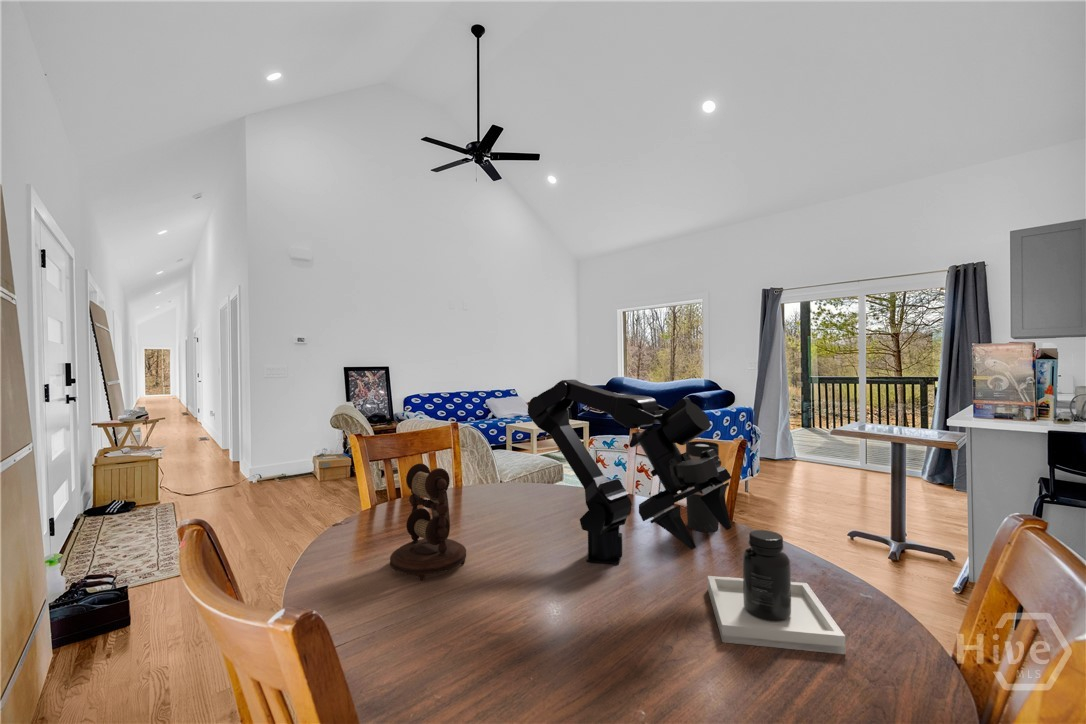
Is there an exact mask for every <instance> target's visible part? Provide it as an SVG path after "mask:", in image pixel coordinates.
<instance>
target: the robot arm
mask: <svg viewBox="0 0 1086 724" xmlns="http://www.w3.org/2000/svg"><path fill="white" fill-rule="evenodd" d="M573 403H578V404H581V405H582V406H587V407H589V408H592V409H595V410H598V411H601V412H603V413H606V414H608V415H609V416H611V418H612V419H613V420H614V421H615V422H616V423H619V424H620V425H622V426H624V427H625V428H628V429H638V428H645V427H647V428H645V429H644V430H642V431H641V432H640V431H635V432H632V433H631V438H630V442H629V445H628V446H629V447H630V448H636V447H639V446H640V447H641V449H642V450H643V453H644V454H645V456H646V458H647V459H648V461H649V462H650V464H651V466H652V468H653V469H652V470H651V471H650V474H651V476H652V477H655V476H657V477H658V479H659V481H660V483H661V484H662V486H663V488H664V490H662V491H660V492H658V493H656V494H654V495H652V496H649V498H647V499H645V500H644V501H642V502H640V503H639V504H638V514H639V515H640V518H641V519H642V522H646V521H647V520H649V519H651V520H649V522H650V524H657V526H659V527H661V528H662V529H664V530H665V531H667V532H668V533H670V534H671V535H672V536H674V537H675V538H676V539H677V540H679V542H681V543H682V544H683V545H685V547H687V548H688V549H689V550H691V551H692V550H695V549H696V548H697V547H696V544H695V542H694V538H693V537H692V535H691V533H690V531H689V530H688V527H687V526H686V524H685V523H684V520H683V519H682V515H681V506H680V505H679V504H678V505H677V506H675V504H676V503H677V502H679V501H682V500H684V499H686V497H688V496H691V495H693V494H695V493H697V492H699V493H701V494H704V495H703V496H702V497H700V499H701V500H702V501H703V502H704V504H705V505H706V506H707V507H708V509H709V510H710V511H711V513H712V514H713V515H714V516H715V518H716V519H717V520H718V521H719V524H720V525H721V526H722V527H723V528H724V530H726V531H728V530H731V529H732V524H731V520H730V516H729V511H728V508H727V503H726V493H727V488H728V486H730V482H729V481H730V480H731V479H732V476H731V473H730V472H729V470H728V469H727V468H725V467H723V466H721V465H722V460H721V458H720V455H719V456H718V455H717V454H716V452H715V451H714V450H713V449H711V450H706V451H704V452H701V457H699V458H697V459H691V458H690V456H689V455H688V454H687V453H686V451H685V452H683V453H682V452H681V450H680V449H679V447H678V446H677V444H678V445H680V446H686V444H687V443H688V442H692V441H694V439H696V438H698V437H699V436H701V435H702V434H704V433H705V432H707V431H708V430H710V427H711V422H710V419H709V417H708V415H707V413H706V412H705V411H704V410H703V409H702V408H700V407H699V406H698V405H697V404H695V403H693V402H692V401H691V399H690V398H689V397H683V398H681V399H679V400H678V401H677V402H676V403H675V404H674V405H673V406H672V407H670V408H666V407H665V406H662V405H660V404H658V403H657V400H656V399H655V398H653V397H652V396H646V395H637V394H636V395H635V394H634V395H633V394H619V393H616V392H613V391H610V390H606V389H602V388H599V387H597V386H593V385H590V384H588V383H587V384H586V383H584V382H581V381H579V380H578V379H562V380H560V381H558V382H557V383H556V384H555V385H554V386H552V387H550V388H549V389H547V390H545V391H542V392H541V393H539V395H537V396H533V397H532V398H531V399H530V401H529V402H528V404H527V405H528V406H527V415H528V417H529V418H530V419H531V421H532V422H533V423H534V424H535V426H537V428H539V429H540V430H542V431H543V432H545V433H546V434H548V435H550V437H551V438H552V440H553V441H554V443H555V445H556V446H557V448H558V450H559V451H560V452H561V454H562V456H563V457H564V459H565V460H566V461H567V463H568V465H569V466H570V468H571V470H572V472H574V473H573V474H574V475H575V476H576V477H577V480H578V481H579V482H580V484H581V486H582V487H583V489H584V495H585V505H586V507H587V509H588V510H587V511H586V512H585V513H584V514H583V515H582V516H581V517H580V518H579V523H580V527H581V529H582V531H586V532H587V557H586V562H588V563H599V564H600V563H601V564H613V565H614V564H615V565H619V564H620V561H621V560H620V559H621V558H622V557H623V551H624V550H623V545H624V544H623V533H622V532H620V527H621V526H624V525H625V524H626V522H627V518H629V517H630V515H631V512H632V506H633V504H632V500H631V498H630V497H629V496H630V492H628V491H627V490H626V488H625V487H624V485H623V484H622V481H621V480H620V479H619V478H614V479H610V478H608V477H606V476H605V474H604V473H603V472H602V470H601V469H600V467H599V466H598V464H597V463H596V461H595V460H594V458H593V456H591V455H592V454H591V453H590V452H589V451H588V450H587V448H586V446H585V444H584V443H583V441H582V440H581V439H580V437H579V435H578V434H577V432H576V431H575V430H574V428H573V427H572V425H571V424H570V412H569V410H568V409H569V408H570V407H572V405H573ZM653 424H654V425H655V424H659V425H657V426H653ZM689 487H690V488H689ZM687 488H689V489H687ZM679 491H680V492H679ZM652 518H653V519H652Z"/></svg>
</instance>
